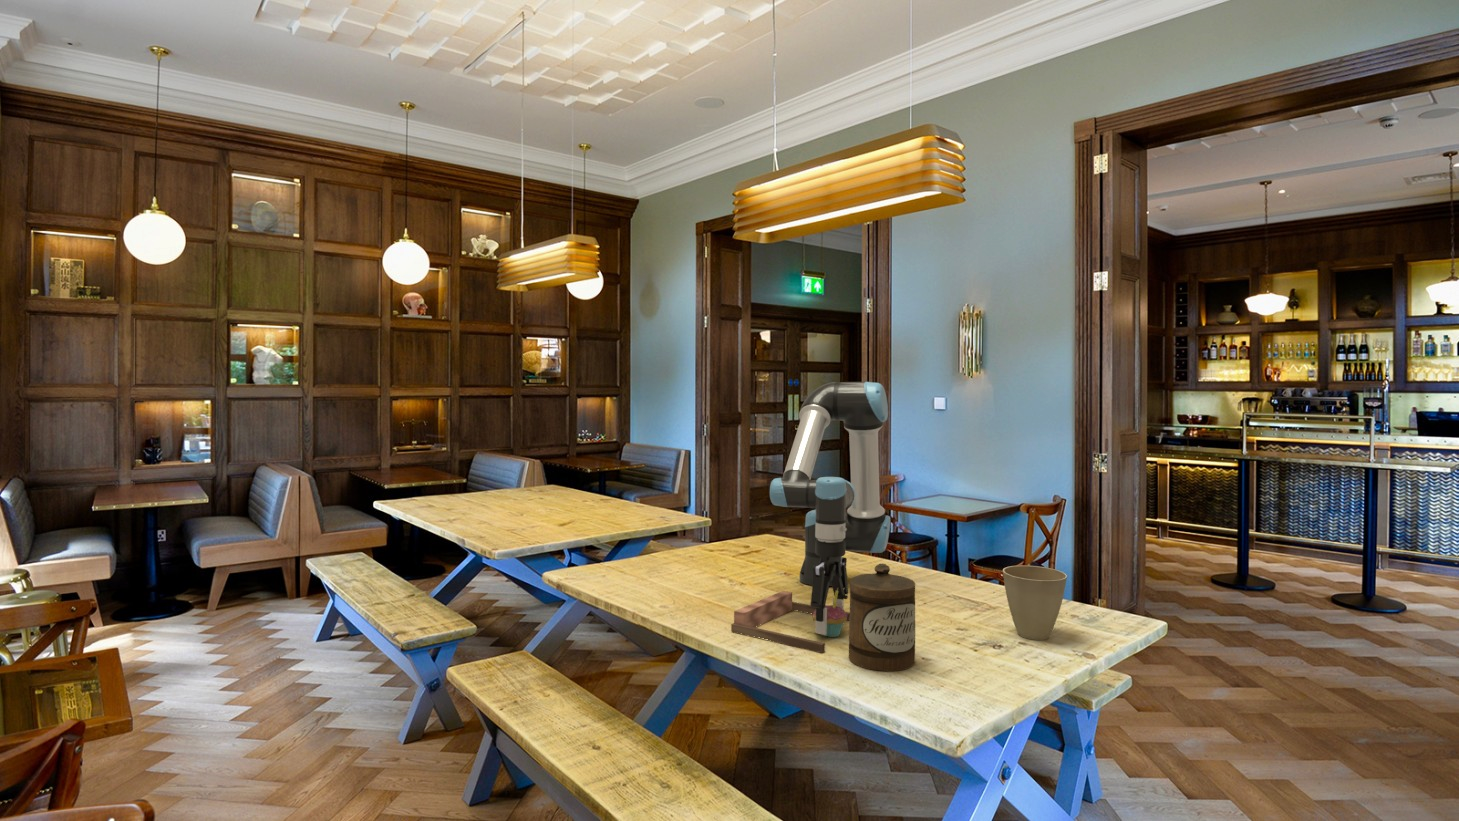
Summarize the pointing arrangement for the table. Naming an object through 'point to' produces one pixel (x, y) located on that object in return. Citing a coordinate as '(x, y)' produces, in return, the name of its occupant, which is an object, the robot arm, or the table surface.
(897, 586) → the wooden container
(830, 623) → the cupcake
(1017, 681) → the table surface
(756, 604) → the brown wooden open frame
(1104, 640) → the table surface
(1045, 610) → the plant pot
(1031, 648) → the table surface
